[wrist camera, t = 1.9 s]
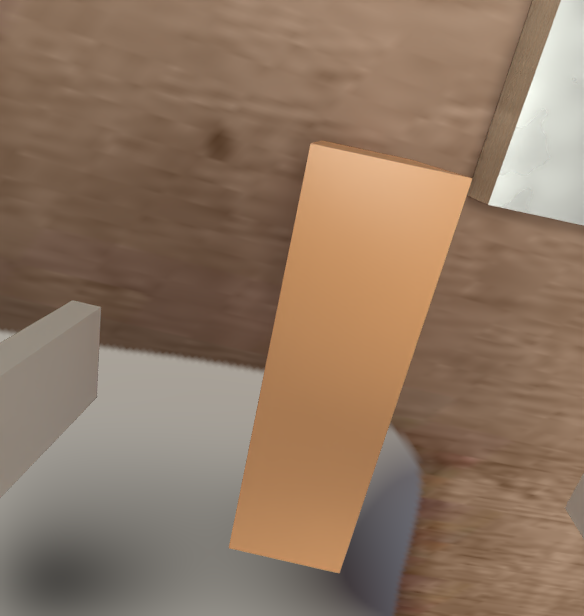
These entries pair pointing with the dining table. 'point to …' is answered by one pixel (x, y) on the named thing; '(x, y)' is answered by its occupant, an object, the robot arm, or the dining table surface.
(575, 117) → the grey slotted block
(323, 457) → the tan notched block
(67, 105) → the dining table surface
